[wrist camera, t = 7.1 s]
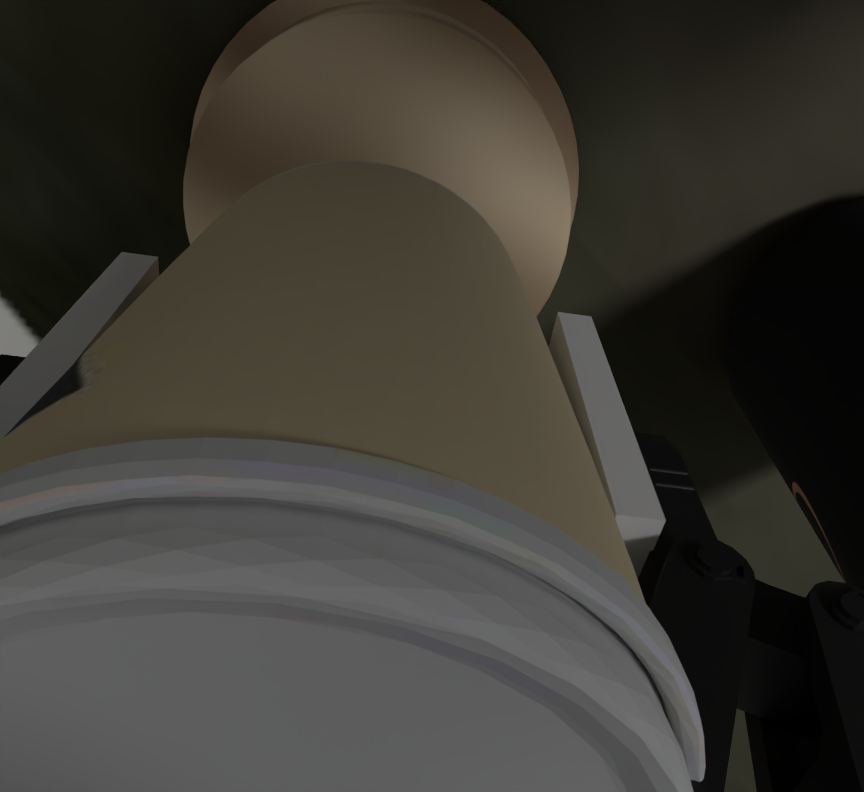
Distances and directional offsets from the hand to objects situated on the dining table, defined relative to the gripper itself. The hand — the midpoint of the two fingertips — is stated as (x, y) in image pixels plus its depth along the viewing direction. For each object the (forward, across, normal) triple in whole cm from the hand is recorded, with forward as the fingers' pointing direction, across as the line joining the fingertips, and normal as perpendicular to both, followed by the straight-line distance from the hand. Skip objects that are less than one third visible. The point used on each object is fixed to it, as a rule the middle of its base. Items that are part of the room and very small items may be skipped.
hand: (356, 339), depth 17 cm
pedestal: (+11, 0, 0) cm, 11 cm away
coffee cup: (+1, 0, 0) cm, 1 cm away
